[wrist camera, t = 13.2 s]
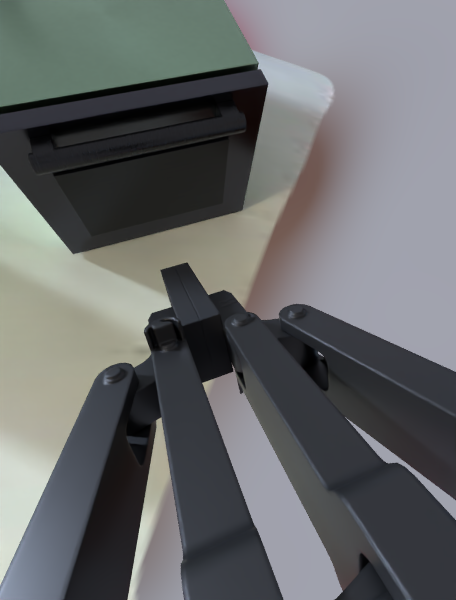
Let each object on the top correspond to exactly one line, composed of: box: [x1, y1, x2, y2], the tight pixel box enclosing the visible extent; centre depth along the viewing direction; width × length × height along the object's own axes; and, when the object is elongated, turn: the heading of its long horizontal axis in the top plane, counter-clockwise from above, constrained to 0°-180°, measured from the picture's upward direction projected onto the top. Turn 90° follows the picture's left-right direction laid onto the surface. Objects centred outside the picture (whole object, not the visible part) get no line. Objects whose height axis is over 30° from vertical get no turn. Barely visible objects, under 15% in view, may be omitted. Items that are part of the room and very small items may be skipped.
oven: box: [0, 0, 258, 114], centre depth 32 cm, size 16×20×16 cm
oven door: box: [0, 69, 268, 254], centre depth 29 cm, size 4×20×16 cm, turn 110°
